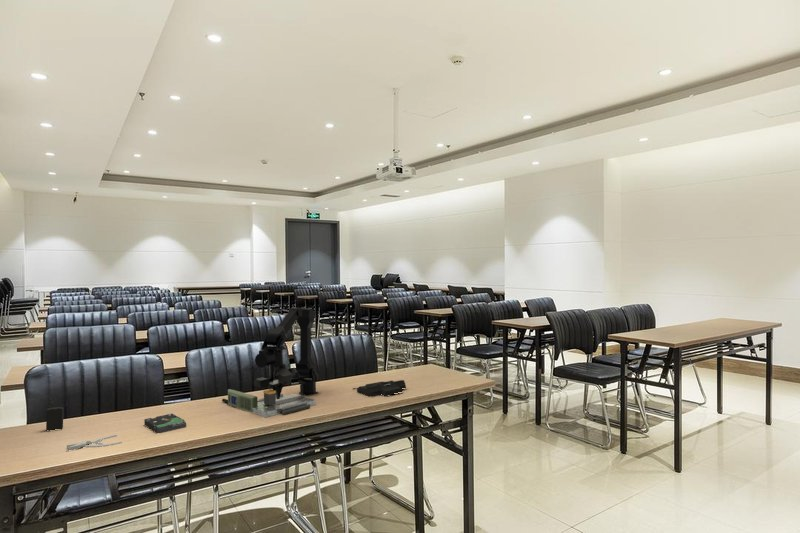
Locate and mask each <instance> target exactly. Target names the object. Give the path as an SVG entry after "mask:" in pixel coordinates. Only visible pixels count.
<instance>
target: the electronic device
mask: <svg viewBox="0 0 800 533" xmlns="http://www.w3.org/2000/svg"><path fill="white" fill-rule="evenodd" d="M352 388H353V389H352V390H355V389H356V392H357V393H359V394H361V393H362V394H361V395H364V394H365V396H367V395H368V396H367V397H369V396H374V397H376V396H375V395H379V394H382V395H385V396H387V395H391V394H394V393H398V392H402V391H404V390H403V389H402V388H406V389H407V385H406V382H405V380H404V379H403V380H402V379H400V380H388V381H376V382H372V383H367V384H365V385H360V386H358V387H352ZM382 395H381V396H382ZM379 396H380V395H379ZM385 396H384V397H385ZM387 397H388V396H387Z"/></svg>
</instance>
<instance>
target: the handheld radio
mask: <svg viewBox="0 0 800 533" xmlns="http://www.w3.org/2000/svg"><path fill="white" fill-rule="evenodd" d="M221 401H222V402H223V403H227V406H229V407H230V406H231V407H233V408H236V409H240V410H242V411H246V412H249V413H253V408H254V407H255V406H258V401H259V399H258V396H256V395H253V394H249V393H245V392H243V391H238V390H235V389H230V388H229V389H227V399H226V398H222V399H221ZM253 414H254V413H253Z"/></svg>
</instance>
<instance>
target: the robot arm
mask: <svg viewBox="0 0 800 533" xmlns="http://www.w3.org/2000/svg"><path fill="white" fill-rule="evenodd" d="M315 317H316V312H315V310H314V309H313V308H300V307H291V308H289V310H288V312H287V313H286V315H285V316H284V317H283V319H282V320H281V321H280V323H279V324H278V325H277V326H276V327H274V328H272V329H271V330H269V331H268V332H267V333H266V335H265V338H264V340H263V343H262V345H261V348H260V350H258V354H257V355H256V356H255V357H254V363H255V365H256V367H258V368H260V369H261V368H265V367H267V368H269V374H268V375H267V376H268V378H267V377H263V376H262V377H257V378H255V379H254V381H253V386H254V387H257V388H259V389H262V388H267V387H269V386H270V389H272V390H275V391H276V393H275V395H276V397H277V399H280V394H282V391H283V388H284V386H286V384H288V382H291V381H292V379H293V380H297V382H298V381H299V382H300V384H299V388H300V389H299V392H298V395H302V396H305V397H307V396H311V395H316V394H318V393H319V392H318V391H317V390H316V388H317V381H319V378H320V374H319V372H318V371H317V370H316V366H315V362H314V361H313V359H312V327H313V325H314V323H315ZM295 323H297V325H298V327H299V331H300V332H299V335H300V337H299V340H300V341H299V342H300V343H299V345H300V347H299V348H300V350H299V351H300V354H299V356H300V359H299V361H298V363H297V362H296V364H295V367H291V368H287V367H286V364H285V363H284V355H283V354H284V352H283V350H286V347H285V346H284V344H285V342H286V341H287V339H288V335H287V334H288V333H289V331H290V330H291V329H292V327H293V326H294V324H295Z"/></svg>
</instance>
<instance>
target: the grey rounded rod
mask: <svg viewBox="0 0 800 533" xmlns="http://www.w3.org/2000/svg"><path fill="white" fill-rule="evenodd" d="M282 396H284V393H281V394H280V397H282ZM276 398H277V397H276ZM260 401H264V397H263V398H259V399H258V402H260Z"/></svg>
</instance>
